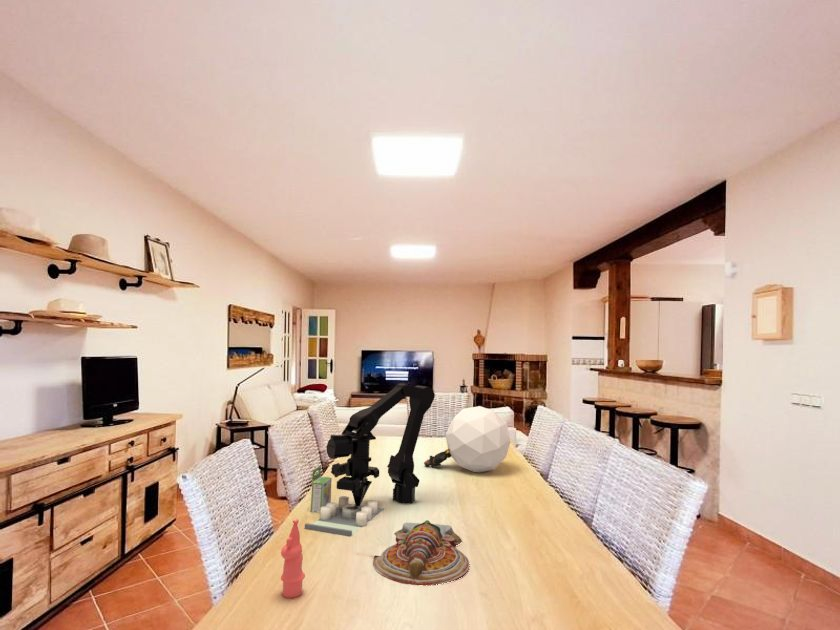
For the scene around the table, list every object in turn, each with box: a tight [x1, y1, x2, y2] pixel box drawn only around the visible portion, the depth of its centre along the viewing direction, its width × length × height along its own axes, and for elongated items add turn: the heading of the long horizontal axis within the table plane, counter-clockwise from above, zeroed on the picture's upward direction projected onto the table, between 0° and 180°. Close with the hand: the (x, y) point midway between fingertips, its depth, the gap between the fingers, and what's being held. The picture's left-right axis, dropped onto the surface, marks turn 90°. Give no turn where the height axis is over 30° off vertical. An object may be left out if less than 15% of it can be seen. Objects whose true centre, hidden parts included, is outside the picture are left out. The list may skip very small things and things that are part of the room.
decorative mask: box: [372, 520, 471, 587], centre depth 121 cm, size 24×8×30 cm
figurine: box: [280, 518, 306, 599], centre depth 102 cm, size 5×5×15 cm
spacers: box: [319, 495, 378, 528], centre depth 145 cm, size 14×14×3 cm
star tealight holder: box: [342, 505, 358, 519], centre depth 145 cm, size 5×5×2 cm
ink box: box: [310, 465, 333, 514], centre depth 150 cm, size 7×4×13 cm, turn 168°
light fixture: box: [423, 405, 511, 473], centre depth 208 cm, size 27×40×28 cm
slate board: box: [304, 503, 385, 537], centre depth 143 cm, size 14×24×2 cm, turn 162°
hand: (357, 506), depth 150 cm, fingers closed
